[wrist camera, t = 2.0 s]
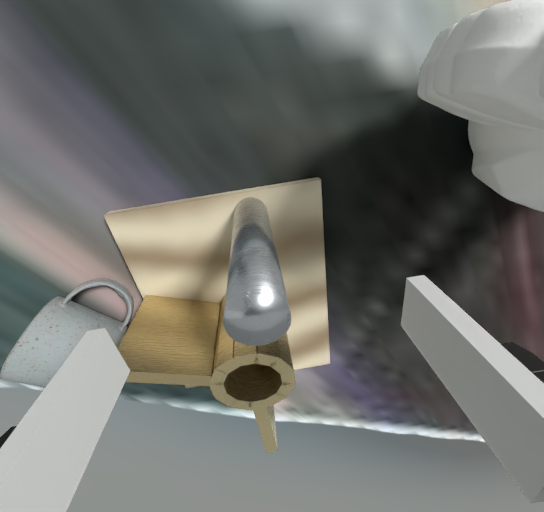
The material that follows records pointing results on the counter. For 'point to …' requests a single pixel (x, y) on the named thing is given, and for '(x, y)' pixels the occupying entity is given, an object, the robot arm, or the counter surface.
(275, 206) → the birch board
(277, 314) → the hinge pin
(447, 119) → the counter surface
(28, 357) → the ceramic mug
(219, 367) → the brass hinge
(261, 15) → the counter surface
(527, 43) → the decorative rooster
